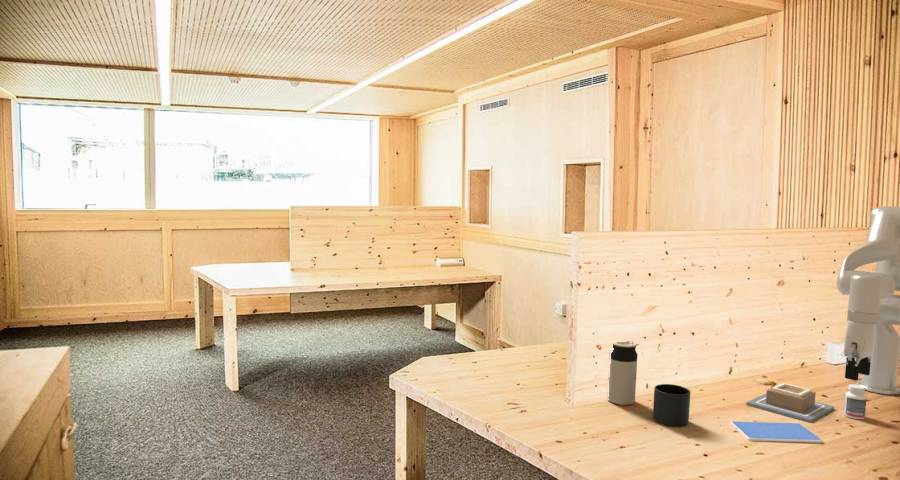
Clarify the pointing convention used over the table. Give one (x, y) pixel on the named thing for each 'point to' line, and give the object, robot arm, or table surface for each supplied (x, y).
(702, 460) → the table surface
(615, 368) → the travel mug
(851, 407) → the pill bottle
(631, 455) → the table surface
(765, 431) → the blue rectangular panel
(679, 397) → the mug
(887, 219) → the robot arm
